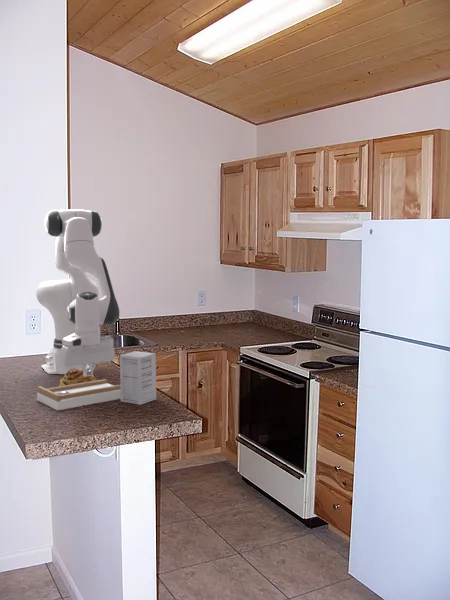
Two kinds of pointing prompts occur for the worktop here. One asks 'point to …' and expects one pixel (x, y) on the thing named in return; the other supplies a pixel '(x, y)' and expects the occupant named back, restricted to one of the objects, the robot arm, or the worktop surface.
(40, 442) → the worktop surface
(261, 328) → the worktop surface
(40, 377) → the worktop surface
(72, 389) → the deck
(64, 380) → the pastry
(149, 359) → the supplement box
